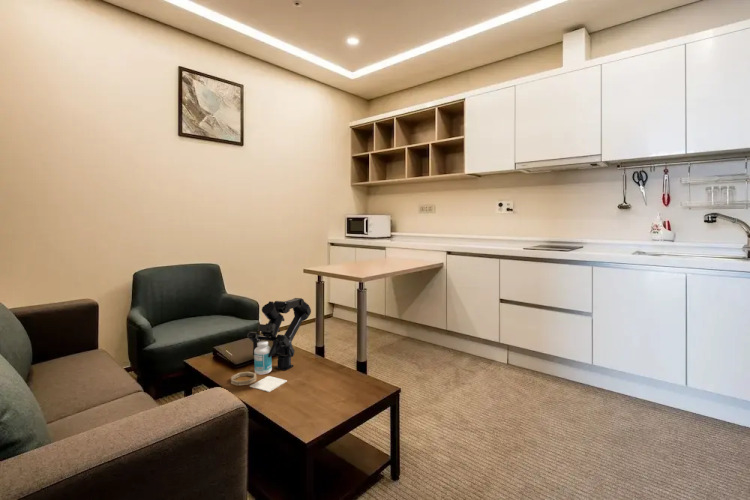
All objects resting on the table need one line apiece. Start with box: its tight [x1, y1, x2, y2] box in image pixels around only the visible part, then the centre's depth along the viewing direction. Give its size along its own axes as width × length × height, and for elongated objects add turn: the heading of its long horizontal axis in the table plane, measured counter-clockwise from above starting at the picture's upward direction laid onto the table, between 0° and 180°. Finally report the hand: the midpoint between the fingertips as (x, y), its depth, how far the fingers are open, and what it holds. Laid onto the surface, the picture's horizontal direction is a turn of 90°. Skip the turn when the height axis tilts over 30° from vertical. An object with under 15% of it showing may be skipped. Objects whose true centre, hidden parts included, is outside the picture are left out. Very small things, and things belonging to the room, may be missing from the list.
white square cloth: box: [249, 375, 288, 393], centre depth 167 cm, size 12×11×1 cm
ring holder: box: [230, 371, 258, 387], centre depth 171 cm, size 11×11×2 cm
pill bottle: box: [253, 340, 273, 375], centre depth 166 cm, size 8×7×14 cm
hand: (261, 356), depth 165 cm, fingers closed on pill bottle, 7 cm apart
